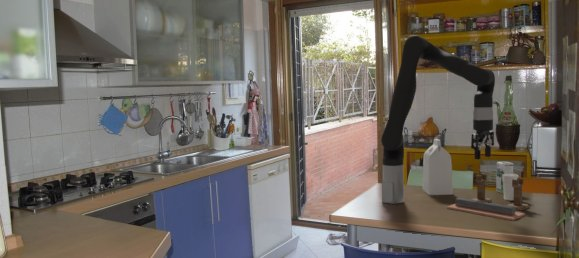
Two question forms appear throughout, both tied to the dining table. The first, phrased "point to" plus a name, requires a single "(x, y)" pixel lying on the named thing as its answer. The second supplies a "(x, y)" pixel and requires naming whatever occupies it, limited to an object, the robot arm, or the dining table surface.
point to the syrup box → (503, 169)
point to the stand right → (518, 194)
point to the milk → (437, 170)
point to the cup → (508, 186)
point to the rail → (485, 206)
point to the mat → (487, 213)
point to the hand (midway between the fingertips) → (482, 157)
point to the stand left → (481, 188)
